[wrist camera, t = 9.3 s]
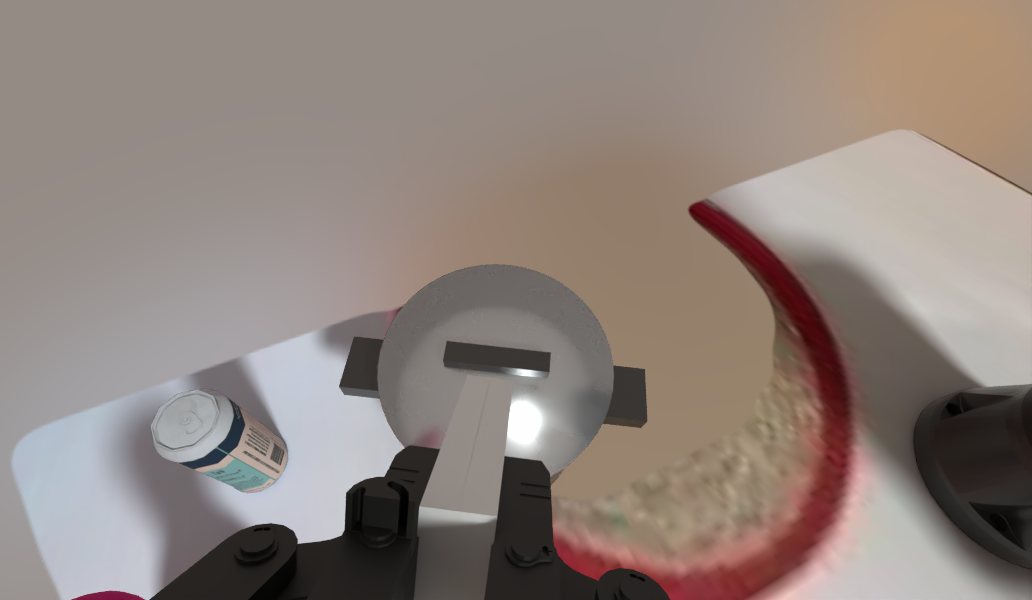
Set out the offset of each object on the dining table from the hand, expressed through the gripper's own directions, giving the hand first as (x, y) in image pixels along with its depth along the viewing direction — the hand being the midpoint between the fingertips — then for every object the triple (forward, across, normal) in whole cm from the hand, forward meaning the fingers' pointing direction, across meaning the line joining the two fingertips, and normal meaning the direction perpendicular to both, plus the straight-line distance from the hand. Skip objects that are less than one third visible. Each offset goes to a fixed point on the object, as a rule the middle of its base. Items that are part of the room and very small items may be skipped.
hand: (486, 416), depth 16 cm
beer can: (+21, -19, -18) cm, 34 cm away
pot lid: (+17, 0, -6) cm, 18 cm away
